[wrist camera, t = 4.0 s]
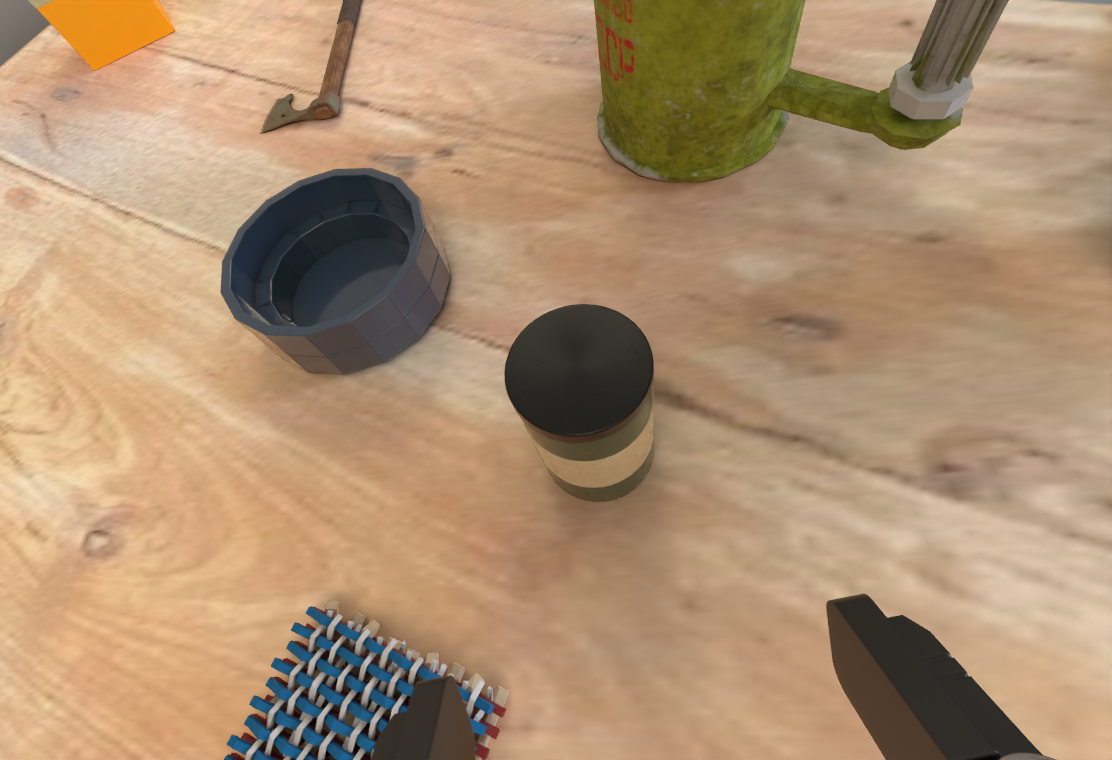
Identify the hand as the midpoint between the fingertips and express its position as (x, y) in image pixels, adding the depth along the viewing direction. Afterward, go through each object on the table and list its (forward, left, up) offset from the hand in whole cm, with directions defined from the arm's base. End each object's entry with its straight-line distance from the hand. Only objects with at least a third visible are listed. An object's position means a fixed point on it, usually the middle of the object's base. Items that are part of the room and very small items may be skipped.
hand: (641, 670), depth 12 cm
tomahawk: (-30, -45, -14) cm, 56 cm away
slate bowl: (-10, -26, -14) cm, 31 cm away
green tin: (-8, -7, -14) cm, 17 cm away
